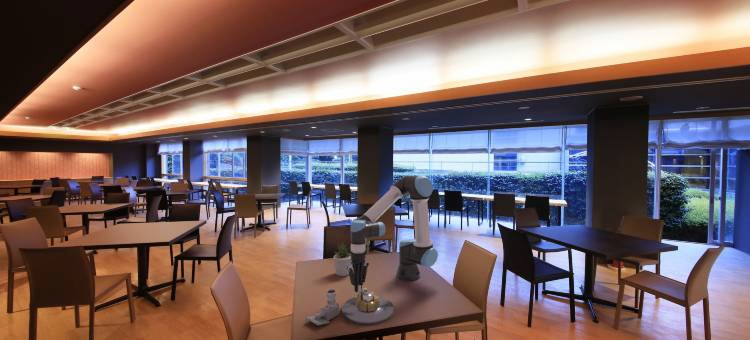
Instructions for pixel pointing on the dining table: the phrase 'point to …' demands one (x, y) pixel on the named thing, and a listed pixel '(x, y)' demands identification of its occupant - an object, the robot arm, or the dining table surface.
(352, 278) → the robot arm
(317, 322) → the camera
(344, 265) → the potted plant
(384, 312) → the cap plate
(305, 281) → the dining table surface
